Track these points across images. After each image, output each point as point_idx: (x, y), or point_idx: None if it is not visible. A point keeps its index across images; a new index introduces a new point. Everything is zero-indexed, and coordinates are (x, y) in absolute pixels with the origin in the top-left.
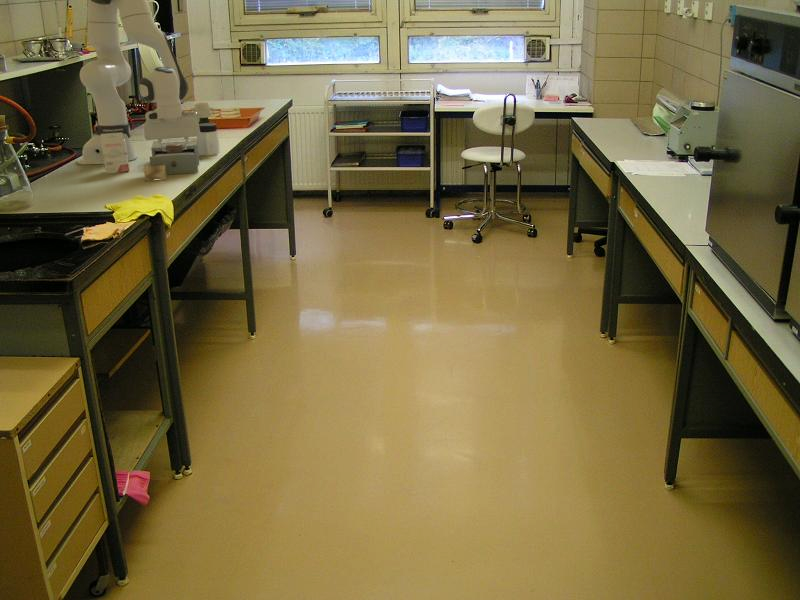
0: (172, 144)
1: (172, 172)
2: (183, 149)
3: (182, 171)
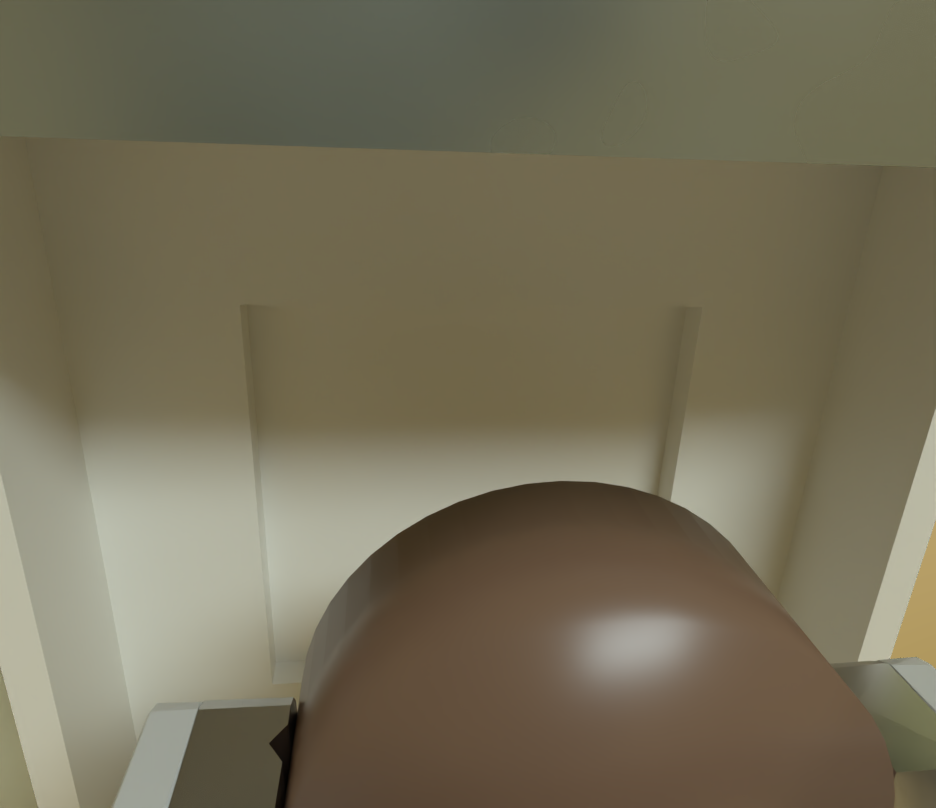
0: (546, 747)
1: None
2: None
3: None
